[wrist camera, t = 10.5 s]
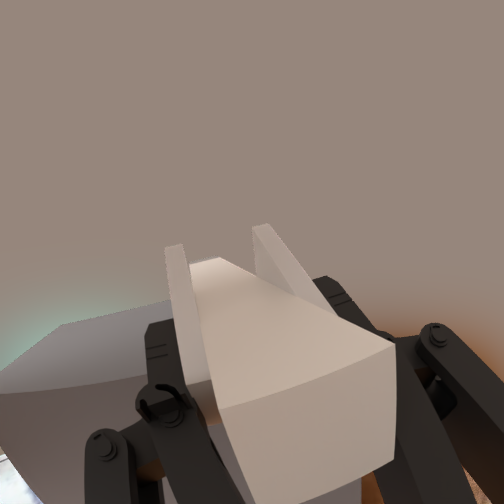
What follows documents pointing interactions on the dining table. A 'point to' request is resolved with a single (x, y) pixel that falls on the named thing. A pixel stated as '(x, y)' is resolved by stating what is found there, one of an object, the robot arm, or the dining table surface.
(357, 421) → the bar
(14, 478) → the dining table surface
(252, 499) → the grey box
